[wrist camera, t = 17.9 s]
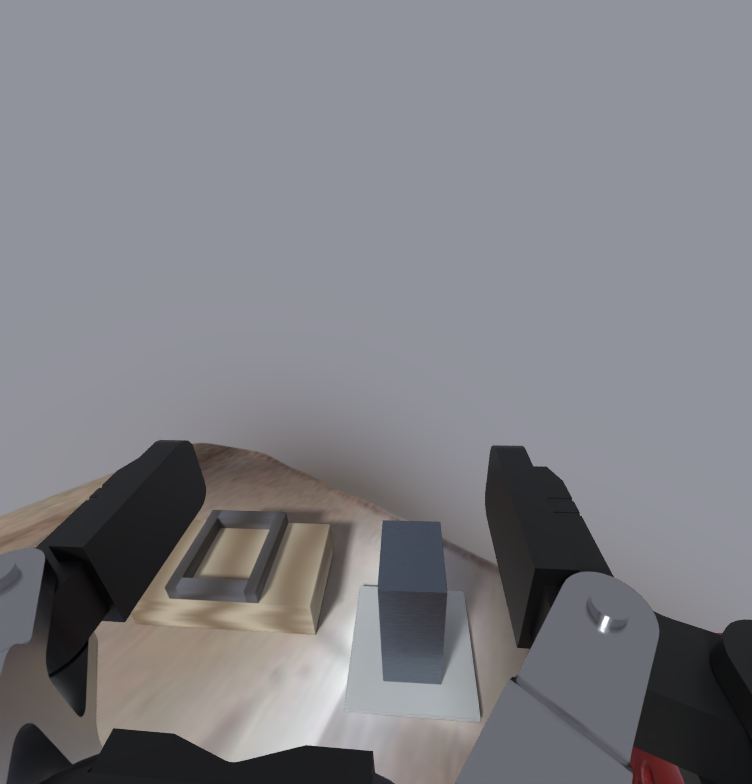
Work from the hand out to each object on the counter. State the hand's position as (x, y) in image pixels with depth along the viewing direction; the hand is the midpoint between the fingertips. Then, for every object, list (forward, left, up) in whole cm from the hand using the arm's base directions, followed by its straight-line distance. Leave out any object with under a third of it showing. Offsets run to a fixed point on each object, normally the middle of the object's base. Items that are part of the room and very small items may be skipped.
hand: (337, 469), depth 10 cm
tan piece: (-15, +16, -28) cm, 36 cm away
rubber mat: (+2, +11, -28) cm, 30 cm away
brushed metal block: (+2, +11, -27) cm, 30 cm away
